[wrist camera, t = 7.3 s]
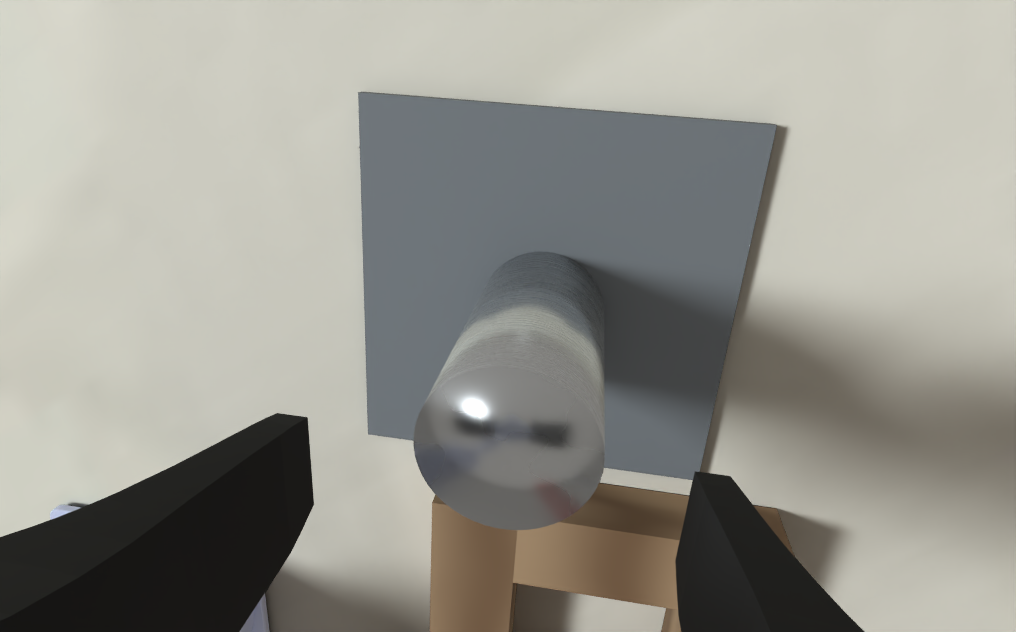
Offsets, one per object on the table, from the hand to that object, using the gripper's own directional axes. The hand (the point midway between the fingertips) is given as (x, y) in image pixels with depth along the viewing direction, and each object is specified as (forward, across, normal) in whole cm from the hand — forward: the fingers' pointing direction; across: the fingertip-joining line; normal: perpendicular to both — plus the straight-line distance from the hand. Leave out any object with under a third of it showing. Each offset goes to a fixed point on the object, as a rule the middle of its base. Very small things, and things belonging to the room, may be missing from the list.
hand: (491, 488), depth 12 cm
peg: (+10, 0, 0) cm, 10 cm away
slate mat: (+10, 0, 0) cm, 10 cm away
